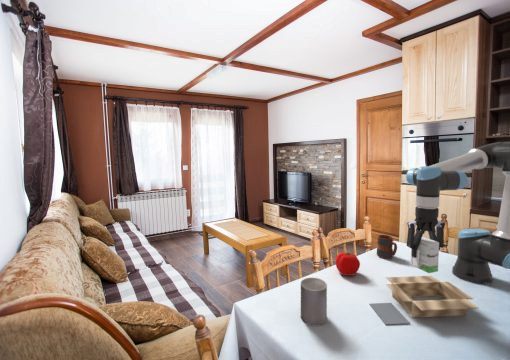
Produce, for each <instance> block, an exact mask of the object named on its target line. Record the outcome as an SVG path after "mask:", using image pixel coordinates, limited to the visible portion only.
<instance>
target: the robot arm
mask: <svg viewBox="0 0 510 360" xmlns="http://www.w3.org/2000/svg"><path fill="white" fill-rule="evenodd" d="M485 168H489V169H490V168H492V169H493V168H497V169H501V170H502V171H501V173H502V174H503V175H504V176H505V179H504V187H503V192H502V196H501V197H502V198H501V203H500V209H499V210H500V211H499V215H498V221H497V227H496V230H495V231H493V232H491V231H489V230H487V229H484V228H483V229H482V228H463V229H461V230H459V233H458V237H457V238H458V241H457V242H458V243H457V245H458V246H457V259H456V260H455V262H454V265H453V266H452V270H451V272H452V274H453V275H454V276H455V277H456V278H458V279H461V280H464V281H467V282H471V283H474V284H475V283H476V284H490V283H492V282H493V274H492V270H491V268H490V265H489V263H491V264H493V265H497V266H498V267H502V268H504V269H506V270H507V269H508V270H510V141H499V142H498V141H497V142H492V143H488V144H485V145H482V146H478V147H476V148H473V149H470V150H468V152H467V153H465V154H462V155H459V156H456V157H453V158H450V159H446V160H444V161H440V162H437V163H435V164H434V163H433V164H432V165H429V166H426V165H425V166H424V165H423V166H420V167H415V168H410V169H409V170H408V171H407V172H406V176H405V178H406V179H405V180H406V182H407V183H408V184H409V185H411V186H415V187H416V194H415V195H416V196H415V205H416V206H415V210H414V211H415V212H414V216H415V218H414V221H411V222H410V221H407V237H406V247H408V248H409V249H412V253H411V252H410V256H411V255H412V257H413V264H414V265H415V266H417V267H419V256H420V250H418V247H419V244H420V241H421V238H422V236H423V235H424V234H425V233H426V232H427V233H428V237H429V239H431V240H434V241H437V242H439V251H440V250H441V248H444V244H445V243H444V241H445V240H444V239H445V237H444V236H445V235H444V234H445V233H444V232H445V231H444V230H445V229H444V228H445V227H446V223H445V222H442V221H440V220H439V219H438V218H439V209H440V208H439V207H440V194H441V192H442V191H458V190H462V189H464V188H465V187H466V186H468V185H467V184H468V176H467V174H466V173H467V172H469V171H472V170H482V169H485ZM423 237H424V236H423ZM417 267H416V268H417Z"/></svg>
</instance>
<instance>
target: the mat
mask: <svg viewBox="0 0 510 360" xmlns="http://www.w3.org/2000/svg"><path fill="white" fill-rule="evenodd" d="M368 305H369V306H370V307H371V309H372V311H374V313H375V314H376V315H377V317H379V318H380V320H381V322H382V323H383V324H384V325H385V326H391V325H392V326H395V325H396V326H397V325H399V326H400V325H411V322H410V321H409V320H408V319H407V318H406V316H404V315H403V313H401V312H400V310H398V309H397V307H396V306H395V305H394V304H393V303H392V302H380V303H379V302H377V303H374V302H373V303H369V304H368Z"/></svg>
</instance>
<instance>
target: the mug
mask: <svg viewBox="0 0 510 360" xmlns="http://www.w3.org/2000/svg"><path fill="white" fill-rule="evenodd" d="M393 240H394V238H393V237H392V235H391V236H390V235H389V234H388V235H387V234H380V235H377V247H376V256H377V257H378V256H379V257H378V258H381V259H384V258H385V260H389V259H392V258H393V257H394V256H395V255H396V254H397V249H398V245H397V243H396V242H394V241H393Z"/></svg>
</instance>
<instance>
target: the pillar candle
mask: <svg viewBox="0 0 510 360" xmlns="http://www.w3.org/2000/svg"><path fill="white" fill-rule="evenodd" d="M327 288H328V284H327V283H326V281H325V280H323V279H321V278H317V277H306V278H304V279H302V280H301V282H300V318H301V320H302V322H304V323H305V324H307V325H309V326H315V327H316V326H322V325H323V324H325V323H326V322H327V319H328V318H327V315H328V314H327V313H328V311H327V309H328V308H327V307H328V304H327V303H328V302H327V301H328V296H327V295H328V289H327Z"/></svg>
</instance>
